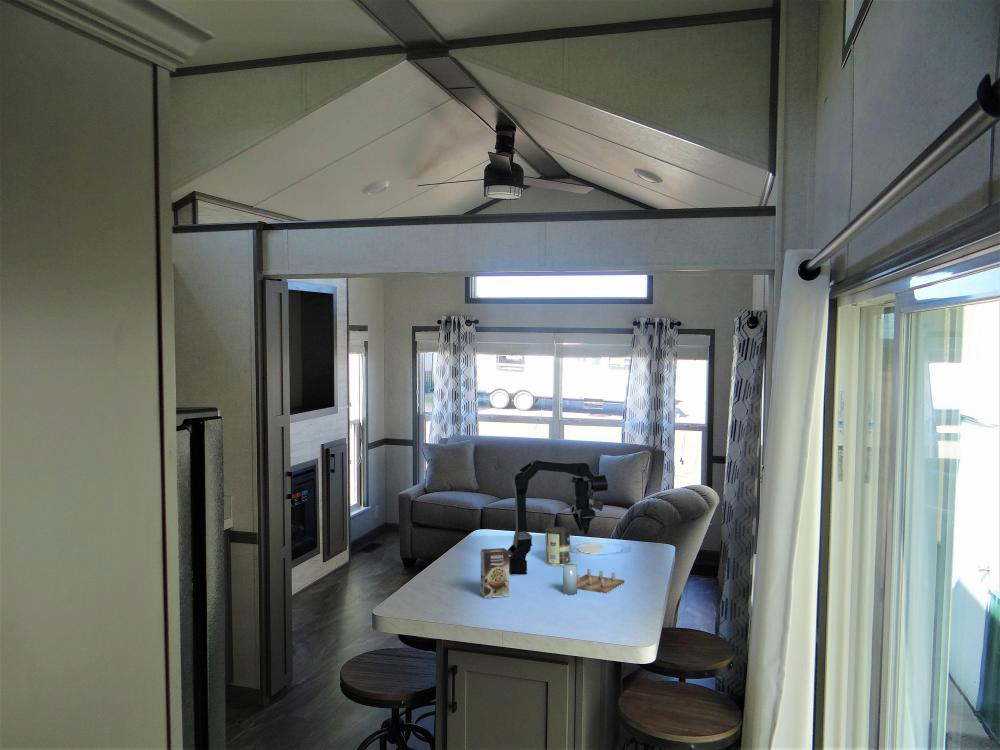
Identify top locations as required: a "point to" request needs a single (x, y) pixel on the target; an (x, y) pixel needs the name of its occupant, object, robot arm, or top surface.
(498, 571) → the brown food box
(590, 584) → the dish rack
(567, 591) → the grey dome-topped cylinder
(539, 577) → the top surface
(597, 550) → the plate
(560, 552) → the coffee can
